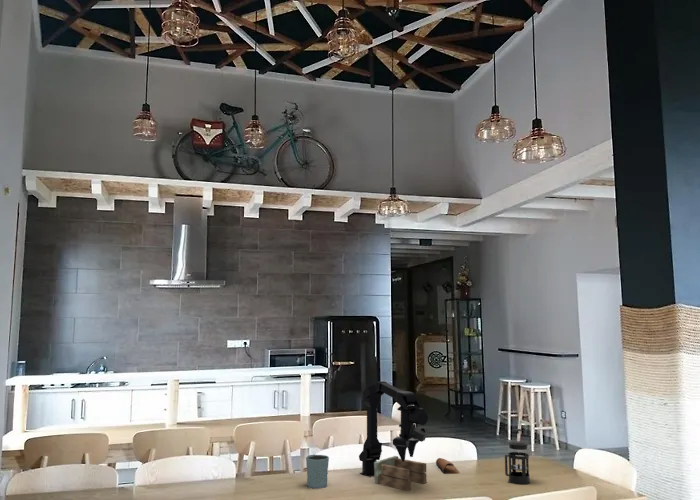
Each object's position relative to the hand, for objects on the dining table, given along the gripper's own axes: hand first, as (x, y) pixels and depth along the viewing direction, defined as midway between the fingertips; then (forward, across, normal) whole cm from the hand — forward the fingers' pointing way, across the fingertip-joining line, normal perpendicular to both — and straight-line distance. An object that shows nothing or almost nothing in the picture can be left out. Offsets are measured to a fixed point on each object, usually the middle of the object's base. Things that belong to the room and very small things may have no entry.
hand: (407, 459), depth 242 cm
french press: (+12, +33, -40) cm, 53 cm away
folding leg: (+7, -2, +5) cm, 9 cm away
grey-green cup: (+12, -16, +36) cm, 41 cm away
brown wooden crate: (+12, +5, +6) cm, 14 cm away
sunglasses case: (+13, +40, -5) cm, 42 cm away
